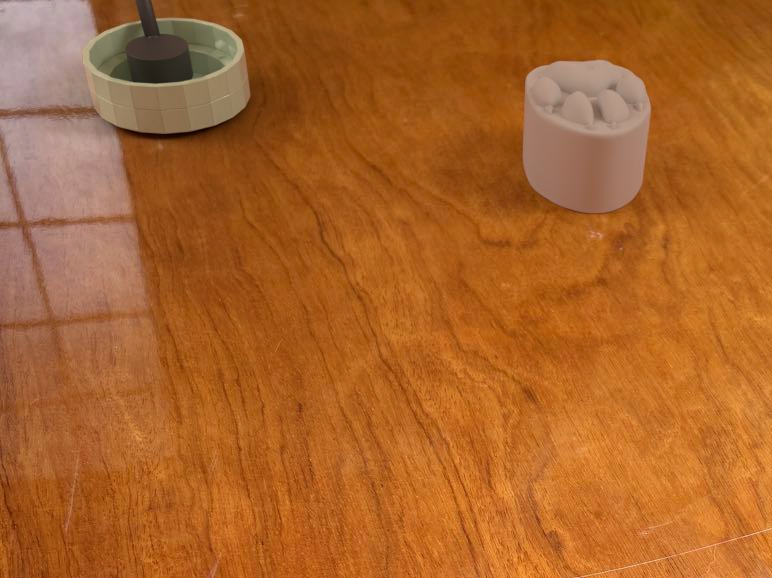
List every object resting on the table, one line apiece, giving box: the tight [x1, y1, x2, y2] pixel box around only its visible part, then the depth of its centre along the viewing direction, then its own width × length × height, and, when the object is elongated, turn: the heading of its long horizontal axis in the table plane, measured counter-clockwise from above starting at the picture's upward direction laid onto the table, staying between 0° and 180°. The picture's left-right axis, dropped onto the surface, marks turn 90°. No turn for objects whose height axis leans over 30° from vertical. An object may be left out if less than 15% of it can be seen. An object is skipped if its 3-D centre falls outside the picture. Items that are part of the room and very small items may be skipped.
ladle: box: [125, 0, 193, 84], centre depth 109 cm, size 16×6×10 cm, turn 21°
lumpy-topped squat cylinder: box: [522, 59, 652, 215], centre depth 101 cm, size 10×13×9 cm
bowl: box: [82, 17, 252, 135], centre depth 108 cm, size 14×14×5 cm
